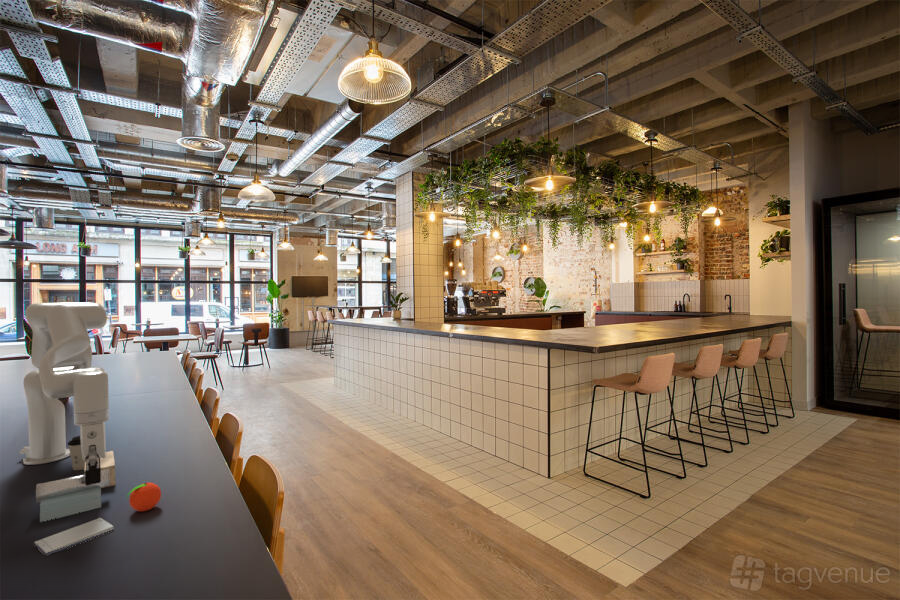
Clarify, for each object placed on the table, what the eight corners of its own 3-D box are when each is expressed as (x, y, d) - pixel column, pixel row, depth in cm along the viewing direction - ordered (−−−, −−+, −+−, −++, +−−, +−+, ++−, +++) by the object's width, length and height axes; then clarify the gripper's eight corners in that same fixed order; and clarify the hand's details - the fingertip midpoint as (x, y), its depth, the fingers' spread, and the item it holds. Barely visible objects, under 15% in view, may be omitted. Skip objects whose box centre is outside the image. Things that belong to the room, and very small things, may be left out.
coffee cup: (100, 464, 147) (99, 435, 147) (77, 472, 141) (76, 441, 141) (86, 462, 150) (85, 433, 149) (62, 470, 143) (62, 439, 143)
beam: (85, 492, 127) (84, 471, 126) (85, 474, 139) (85, 456, 139) (115, 485, 131) (114, 465, 131) (113, 468, 143) (113, 450, 143)
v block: (40, 522, 110) (39, 506, 109) (44, 505, 119) (43, 490, 119) (101, 507, 117) (100, 492, 117) (100, 491, 126) (100, 478, 126)
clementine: (132, 520, 110) (131, 492, 110) (119, 513, 113) (119, 486, 113) (166, 507, 117) (165, 481, 116) (153, 501, 120) (153, 475, 120)
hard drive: (100, 516, 110) (34, 540, 99) (113, 525, 105) (46, 551, 95) (100, 523, 110) (34, 547, 99) (114, 532, 105) (46, 559, 95)
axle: (36, 505, 112) (35, 489, 112) (37, 497, 115) (37, 481, 115) (110, 488, 122) (109, 473, 121) (109, 481, 125) (109, 466, 124)
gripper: (109, 420, 116) (111, 484, 116) (108, 407, 130) (109, 465, 130) (72, 426, 111) (74, 492, 112) (74, 412, 125) (76, 471, 125)
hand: (93, 477), depth 121 cm, fingers open, 9 cm apart
